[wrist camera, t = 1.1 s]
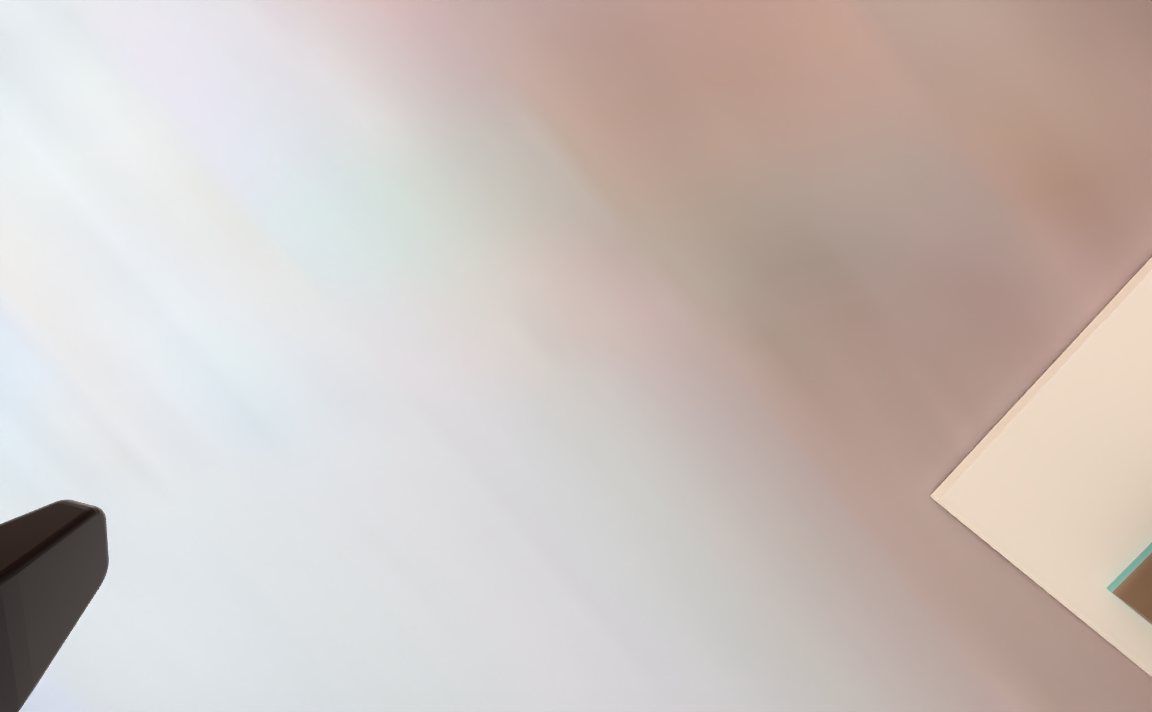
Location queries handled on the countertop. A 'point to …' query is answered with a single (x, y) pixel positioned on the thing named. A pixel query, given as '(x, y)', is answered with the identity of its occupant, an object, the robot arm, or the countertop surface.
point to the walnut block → (1136, 585)
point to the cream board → (1075, 472)
